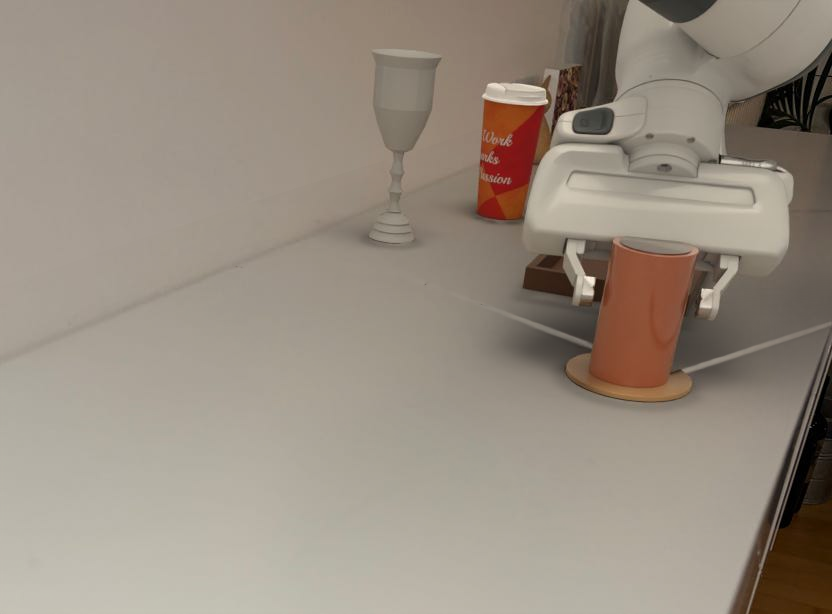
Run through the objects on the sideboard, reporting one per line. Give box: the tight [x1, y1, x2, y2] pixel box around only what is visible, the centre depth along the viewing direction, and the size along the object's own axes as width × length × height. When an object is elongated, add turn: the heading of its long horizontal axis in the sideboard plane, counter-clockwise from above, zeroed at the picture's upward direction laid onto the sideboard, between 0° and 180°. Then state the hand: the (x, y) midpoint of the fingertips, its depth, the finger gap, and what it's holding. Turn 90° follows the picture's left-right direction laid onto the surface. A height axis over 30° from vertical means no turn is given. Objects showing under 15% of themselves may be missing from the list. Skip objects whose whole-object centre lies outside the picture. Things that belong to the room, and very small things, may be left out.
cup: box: [588, 236, 699, 388], centre depth 84 cm, size 6×6×10 cm
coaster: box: [565, 352, 693, 403], centre depth 87 cm, size 10×10×1 cm
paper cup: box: [476, 82, 549, 220], centre depth 129 cm, size 8×8×14 cm
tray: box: [522, 254, 708, 317], centre depth 110 cm, size 22×16×3 cm
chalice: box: [368, 48, 443, 244], centre depth 115 cm, size 7×7×18 cm
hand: (643, 309), depth 84 cm, fingers open, 8 cm apart
